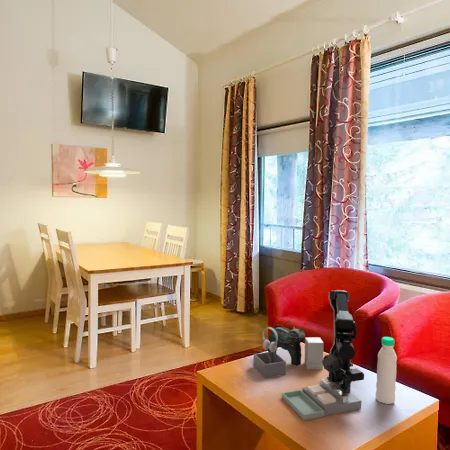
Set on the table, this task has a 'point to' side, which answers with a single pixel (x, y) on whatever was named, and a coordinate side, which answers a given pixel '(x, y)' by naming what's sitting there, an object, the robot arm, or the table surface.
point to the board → (337, 406)
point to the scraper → (336, 389)
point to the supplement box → (314, 353)
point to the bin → (303, 405)
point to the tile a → (316, 389)
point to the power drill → (289, 342)
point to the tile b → (326, 398)
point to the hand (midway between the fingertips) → (342, 388)
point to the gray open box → (266, 369)
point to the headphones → (267, 343)
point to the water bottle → (386, 372)
